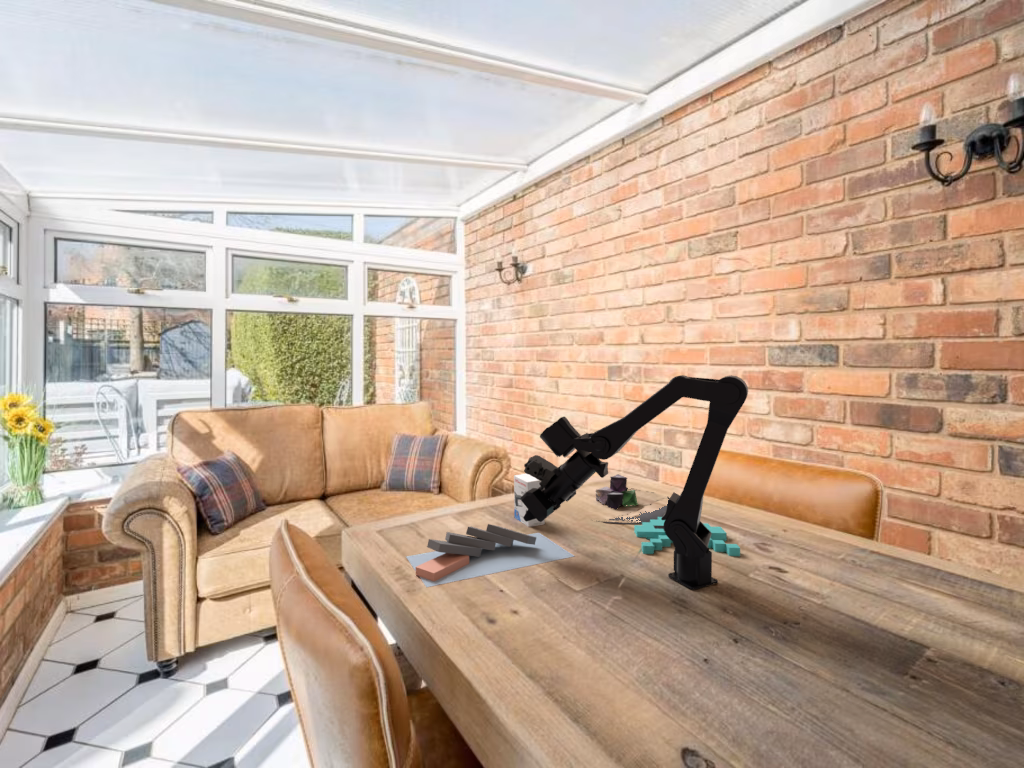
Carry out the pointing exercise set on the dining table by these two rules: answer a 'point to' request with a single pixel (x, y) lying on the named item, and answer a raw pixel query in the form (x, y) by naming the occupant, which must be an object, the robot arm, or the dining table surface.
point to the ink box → (520, 488)
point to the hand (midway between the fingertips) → (525, 519)
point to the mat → (497, 559)
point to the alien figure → (660, 539)
